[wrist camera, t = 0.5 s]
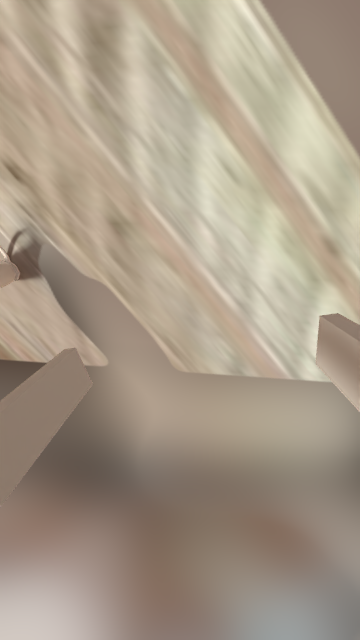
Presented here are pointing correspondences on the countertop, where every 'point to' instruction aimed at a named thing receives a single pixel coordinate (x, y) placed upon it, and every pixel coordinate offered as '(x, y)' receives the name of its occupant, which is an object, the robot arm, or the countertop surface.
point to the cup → (7, 270)
